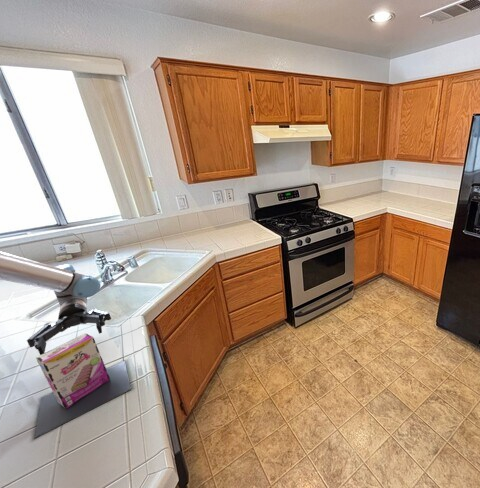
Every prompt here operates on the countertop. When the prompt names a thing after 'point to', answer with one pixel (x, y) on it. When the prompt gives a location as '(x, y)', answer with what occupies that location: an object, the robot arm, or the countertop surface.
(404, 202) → the countertop surface
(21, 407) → the countertop surface
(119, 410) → the countertop surface
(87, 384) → the candy bar box
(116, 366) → the slate placemat
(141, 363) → the countertop surface
